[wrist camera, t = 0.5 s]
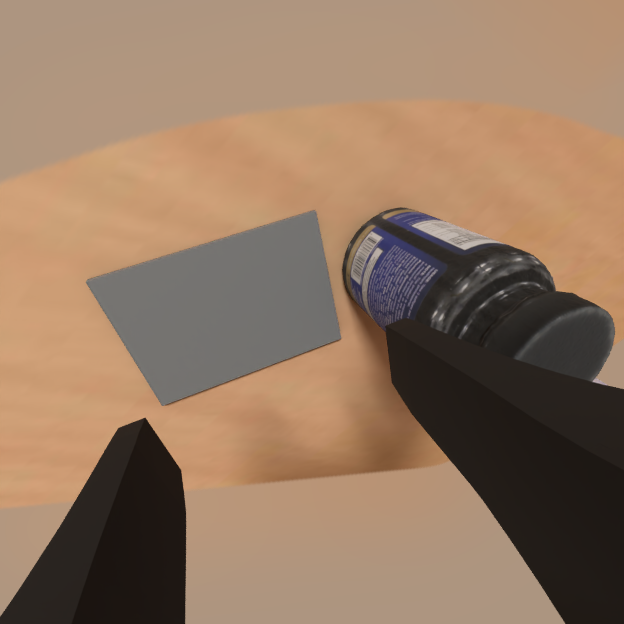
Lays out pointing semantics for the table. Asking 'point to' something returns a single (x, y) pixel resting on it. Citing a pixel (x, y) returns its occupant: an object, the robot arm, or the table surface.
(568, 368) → the pill bottle
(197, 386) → the rubber mat
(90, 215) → the table surface
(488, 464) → the robot arm
